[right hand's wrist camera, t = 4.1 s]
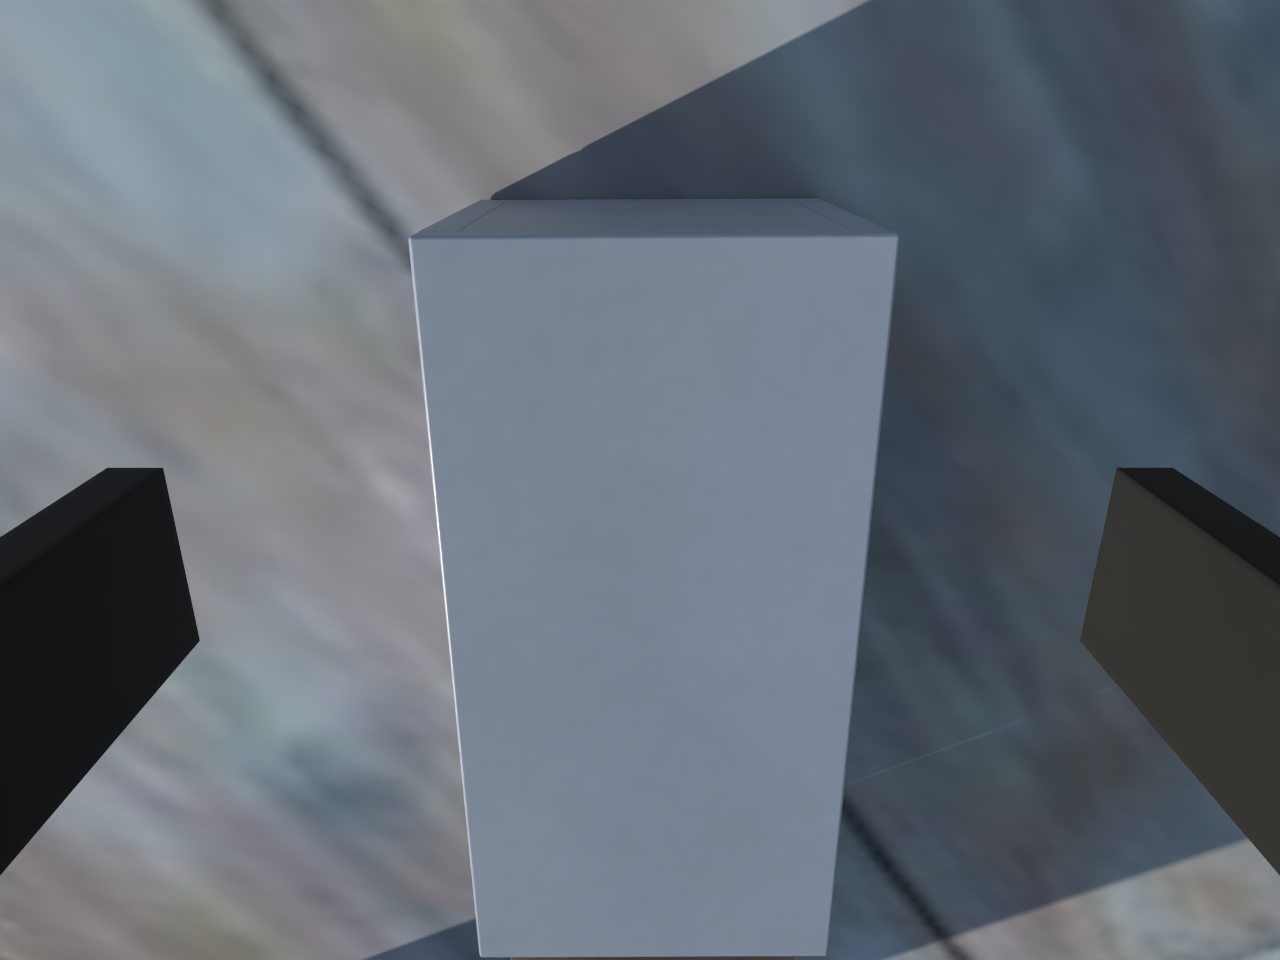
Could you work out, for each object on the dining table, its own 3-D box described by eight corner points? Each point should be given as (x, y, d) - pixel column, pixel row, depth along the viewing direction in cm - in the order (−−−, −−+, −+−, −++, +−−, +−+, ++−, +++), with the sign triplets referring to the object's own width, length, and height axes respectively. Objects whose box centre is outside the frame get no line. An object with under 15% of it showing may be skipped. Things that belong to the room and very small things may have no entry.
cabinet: (782, 755, 33) (827, 957, 25) (517, 756, 33) (479, 958, 25) (820, 197, 25) (901, 233, 17) (479, 199, 25) (406, 235, 17)
